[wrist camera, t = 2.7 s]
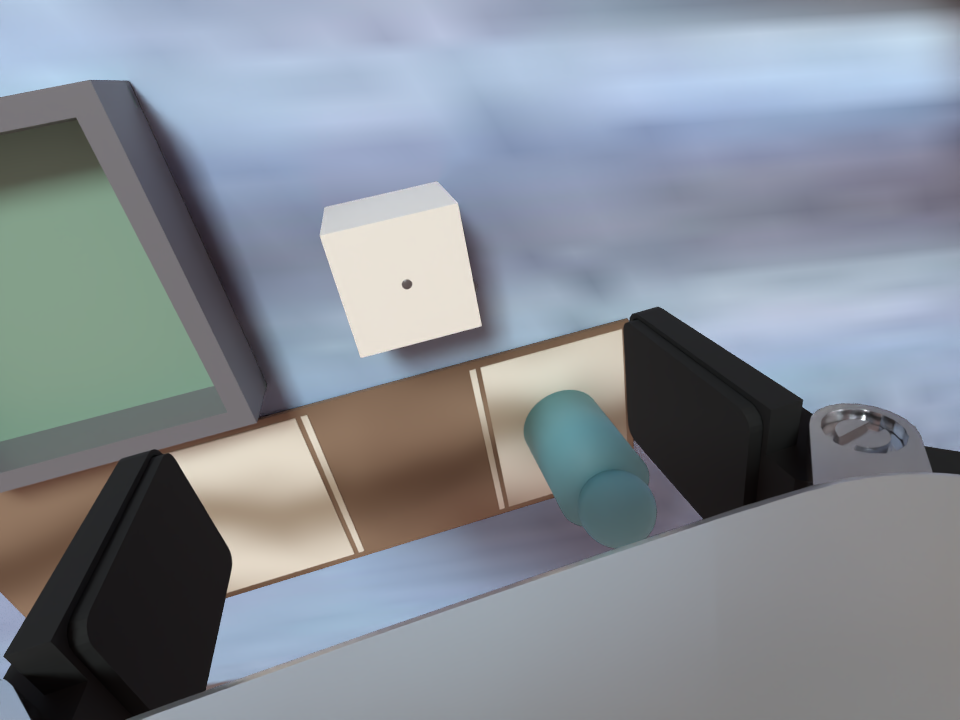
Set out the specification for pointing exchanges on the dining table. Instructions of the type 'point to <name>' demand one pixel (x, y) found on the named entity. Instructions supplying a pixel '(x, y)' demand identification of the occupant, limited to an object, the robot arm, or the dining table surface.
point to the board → (347, 467)
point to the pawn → (591, 468)
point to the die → (401, 267)
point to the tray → (105, 293)
